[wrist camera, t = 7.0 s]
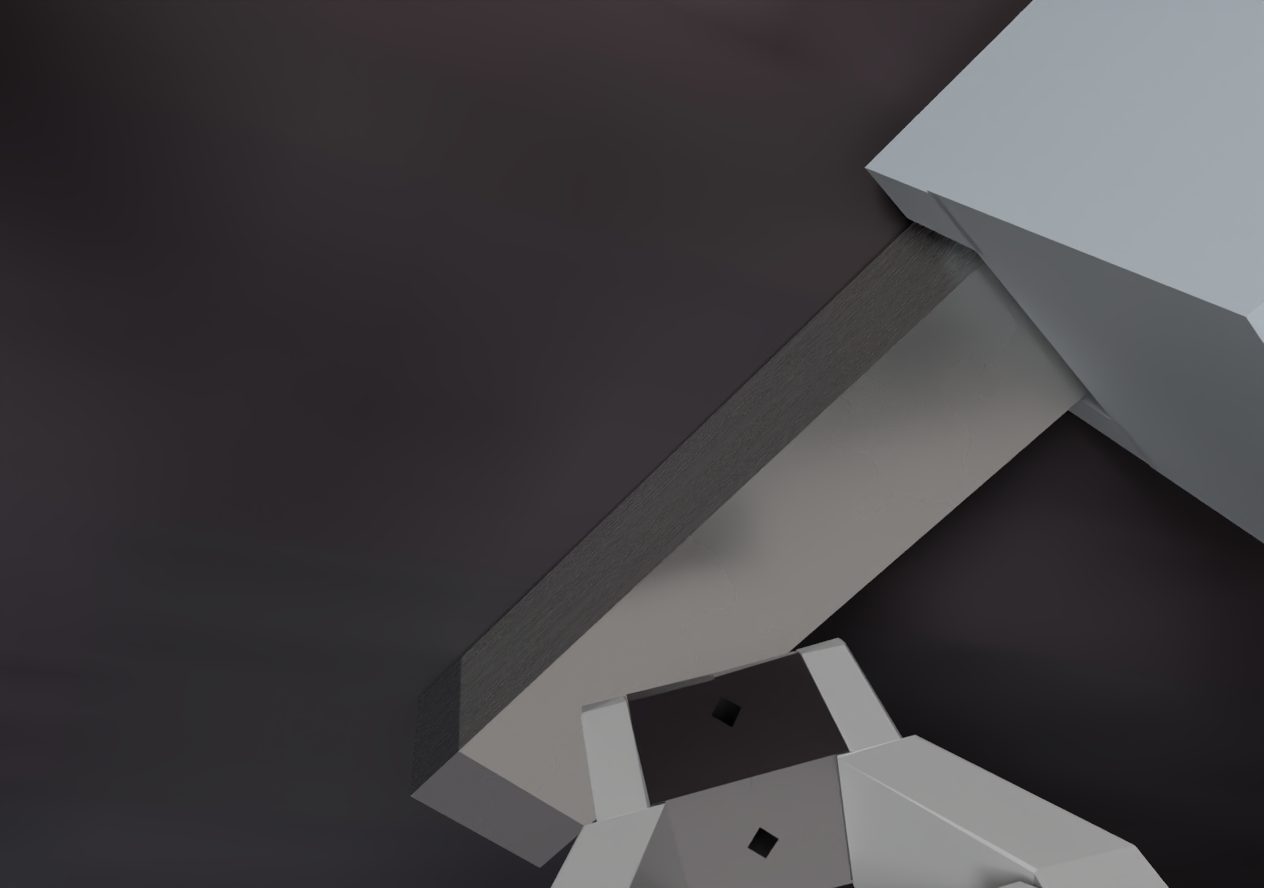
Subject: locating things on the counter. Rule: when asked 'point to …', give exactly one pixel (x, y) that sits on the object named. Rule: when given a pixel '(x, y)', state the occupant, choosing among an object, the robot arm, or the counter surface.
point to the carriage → (1120, 217)
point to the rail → (747, 530)
